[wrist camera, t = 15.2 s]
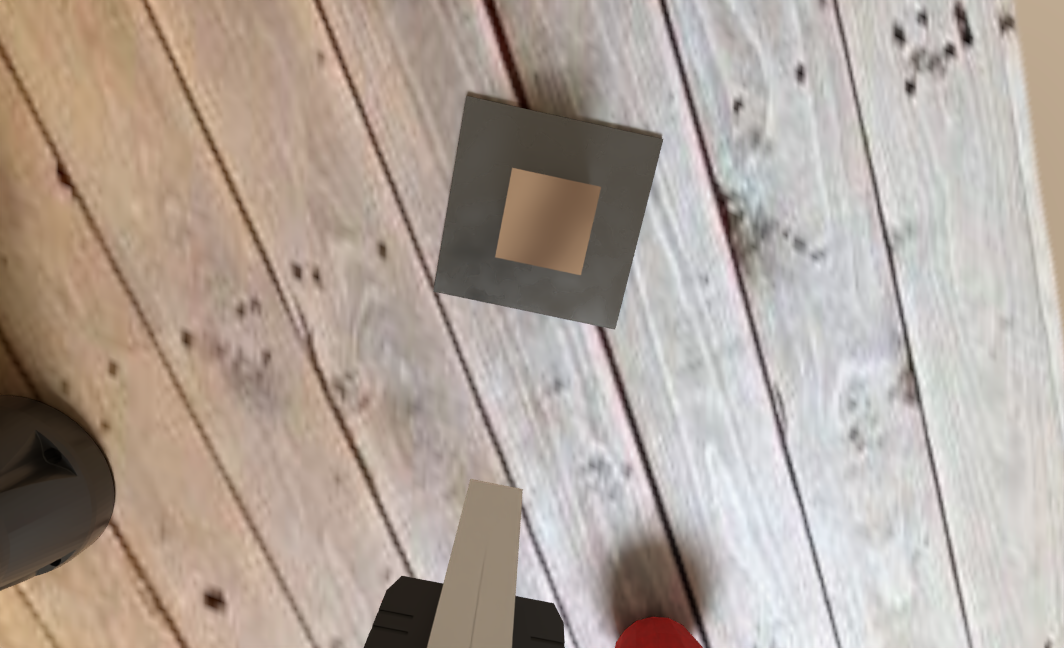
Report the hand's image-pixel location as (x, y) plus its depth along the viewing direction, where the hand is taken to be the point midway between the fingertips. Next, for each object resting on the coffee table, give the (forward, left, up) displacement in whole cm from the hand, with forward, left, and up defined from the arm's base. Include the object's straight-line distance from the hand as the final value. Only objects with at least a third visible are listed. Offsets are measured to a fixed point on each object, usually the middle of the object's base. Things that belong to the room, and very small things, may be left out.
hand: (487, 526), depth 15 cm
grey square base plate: (0, +8, -26) cm, 28 cm away
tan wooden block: (0, +8, -26) cm, 27 cm away
